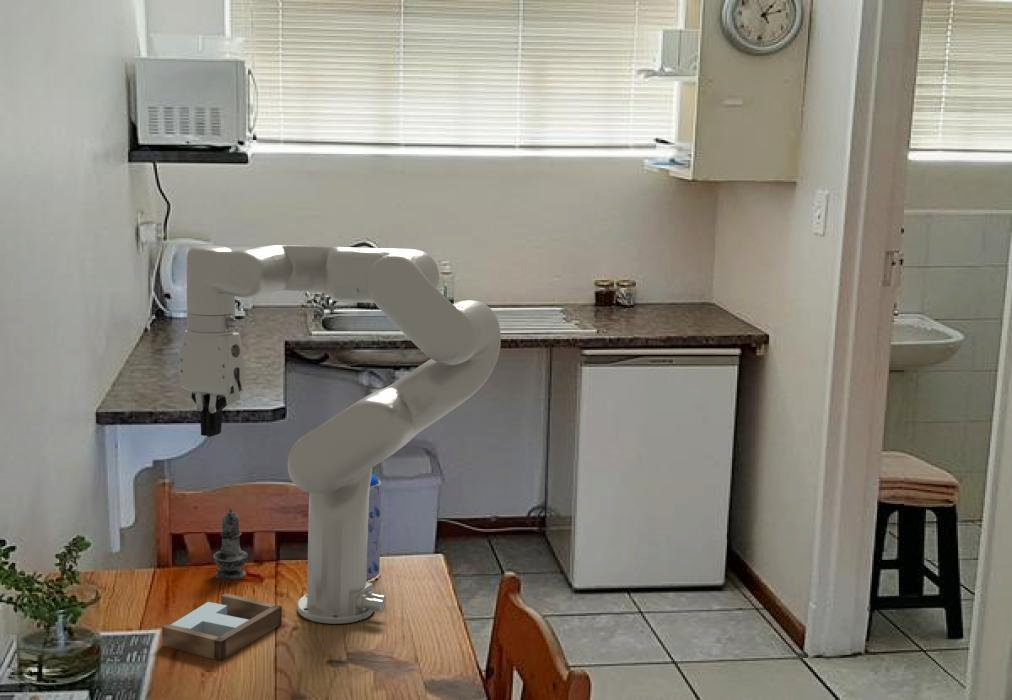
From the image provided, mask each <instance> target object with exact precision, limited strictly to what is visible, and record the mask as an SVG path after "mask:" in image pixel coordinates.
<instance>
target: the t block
mask: <svg viewBox="0 0 1012 700" xmlns="http://www.w3.org/2000/svg"><path fill="white" fill-rule="evenodd" d="M246 621H248V619H243V618H239V617H234V616H230V615H227V605H222V604H220V603H215V602H211V601H207V602H205V603H204V604H202V605H200V606H199V607H197V608H196V609H194V610H192V611H191V612H189V613H188V614H186V615H184V616H182V617H180V618H179V619H178V620H176V621H174V622H173V623H171V624H170V625H174V626H178V627H182V628H186V629H190V630H194V631H198V632H202V633H206V634H209V635H213V636H217V637H220V636H222V635H224V634H225V633H227V632H229V631H231V630H232V629H234V628H236V627H238V626H239V625H241V624H243V623H244V622H246Z"/></svg>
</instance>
